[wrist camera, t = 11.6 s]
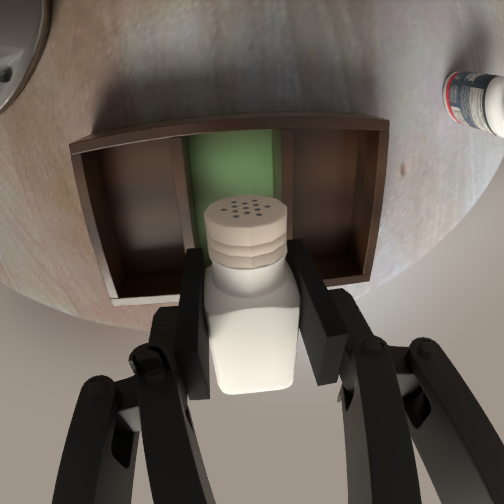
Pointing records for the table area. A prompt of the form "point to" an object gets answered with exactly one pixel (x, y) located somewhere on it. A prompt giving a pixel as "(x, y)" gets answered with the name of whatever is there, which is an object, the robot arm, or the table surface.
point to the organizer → (229, 191)
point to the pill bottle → (476, 100)
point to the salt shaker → (250, 295)
